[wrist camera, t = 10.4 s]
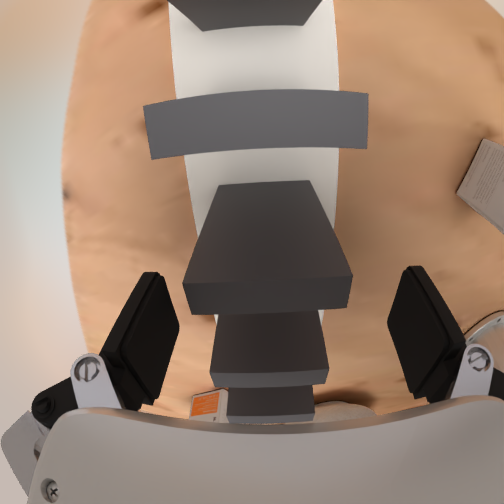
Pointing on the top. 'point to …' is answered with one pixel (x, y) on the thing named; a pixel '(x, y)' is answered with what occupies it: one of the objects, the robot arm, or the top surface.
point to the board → (257, 78)
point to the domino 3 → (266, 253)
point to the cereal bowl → (338, 412)
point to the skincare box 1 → (210, 407)
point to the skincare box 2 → (486, 183)
